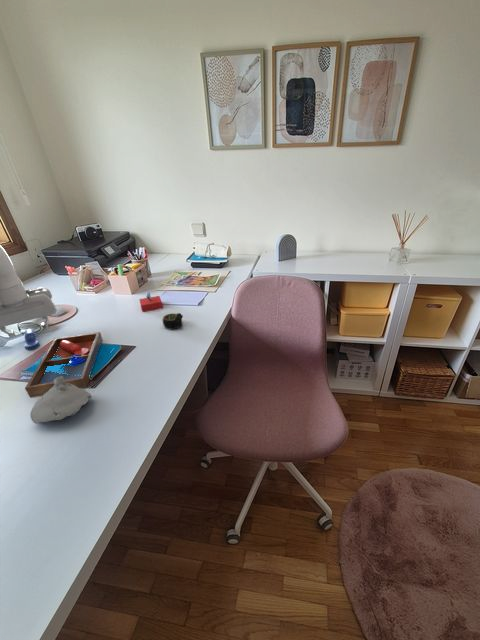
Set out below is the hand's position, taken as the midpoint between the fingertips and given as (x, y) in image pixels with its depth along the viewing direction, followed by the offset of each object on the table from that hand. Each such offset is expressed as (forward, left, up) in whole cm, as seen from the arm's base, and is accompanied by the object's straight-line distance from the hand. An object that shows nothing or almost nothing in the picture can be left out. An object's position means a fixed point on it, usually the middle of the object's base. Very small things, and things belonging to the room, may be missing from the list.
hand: (29, 332), depth 101 cm
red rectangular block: (+38, +15, -3) cm, 41 cm away
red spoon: (+17, -14, -2) cm, 22 cm away
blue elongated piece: (0, -2, -3) cm, 4 cm away
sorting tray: (+16, -20, -3) cm, 26 cm away
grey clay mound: (+20, -42, -3) cm, 47 cm away
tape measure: (+47, -4, -3) cm, 48 cm away
